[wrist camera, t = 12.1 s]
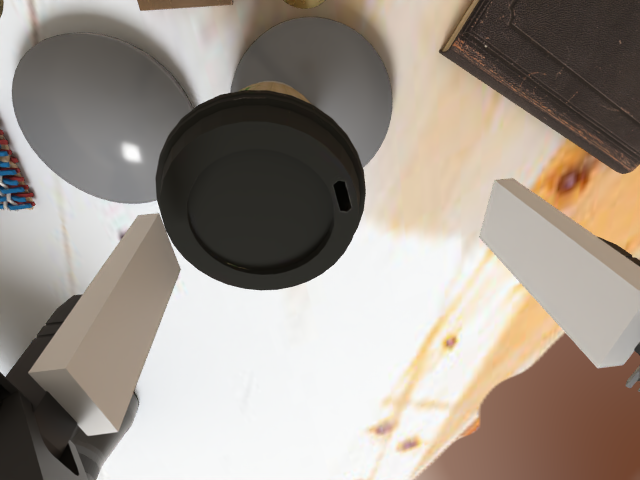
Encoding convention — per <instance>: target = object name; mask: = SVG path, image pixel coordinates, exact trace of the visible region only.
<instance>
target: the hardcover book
mask: <svg viewBox="0 0 640 480" xmlns="http://www.w3.org/2000/svg"><path fill="white" fill-rule="evenodd" d="M439 53H441V54H442V55H444V56H445V57H447V58H448V59H450V60H451V61H453V62H454V63H456V64H457V65H459V66H460V67H462V68H463V69H464V70H466V71H467V72H469V73H470V74H472V75H473V76H475V77H476V78H478V79H479V80H481V81H482V82H484V83H485V84H487V85H488V86H490V87H491V88H493V89H494V90H496V91H497V92H499V93H500V94H502V95H503V96H505V97H506V98H508V99H509V100H511V101H512V102H514V103H515V104H517V105H518V106H520V107H521V108H523V109H524V110H525V111H527V112H528V113H530V114H531V115H533V116H534V117H536V118H537V119H539V120H540V121H542V122H543V123H545V124H546V125H548V126H549V127H551V128H552V129H554V130H555V131H557V132H558V133H560V134H561V135H563V136H564V137H566V138H567V139H569V140H570V141H572V142H573V143H575V144H576V145H578V146H579V147H581V148H582V149H584V150H585V151H586V152H588V153H589V154H591V155H592V156H594V157H595V158H597V159H598V160H600V161H601V162H603V163H604V164H606V165H607V166H609V167H610V168H612V169H613V170H615V171H616V172H619V173H622V174H626V173H629V172H631V171H633V170H634V169H635V168H636V167H637V166H638V165H640V0H473V2H472V4H471V5H470V7H469V8H468V10H467V12H466V13H465V15H464V16H463V18H462V20H461V21H460V23H459V25H458V26H457V28H456V29H455V31H454V33H453V34H452V36H451V38H450V39H449V41H448V42H447V44H446V46H445V47H444V49H443V51H442V50H440V51H439Z"/></svg>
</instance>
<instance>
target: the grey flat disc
mask: <svg viewBox="0 0 640 480" xmlns="http://www.w3.org/2000/svg"><path fill="white" fill-rule="evenodd" d="M12 100H13V107H14V111H15V115H16V118H17V121H18V124H19V126H20V128H21V130H22V132H23V134H24V136H25V138H26V140H27V141H28V143H29V144H30V146H31V147H32V149H33V150H34V151H35V153H36V154H37V155H38V156H39V158H40V159H41V160H42V161H43V162H44V163H45V164H46V165H47V166H48V167H49V168H50V169H51V170H52V171H54V172H55V173H56V174H57V175H58V176H60V177H61V178H62V179H64V180H65V181H66V182H68V183H69V184H71V185H73V186H74V187H76V188H78V189H80V190H82V191H84V192H86V193H88V194H90V195H93V196H95V197H98V198H101V199H105V200H108V201H113V202H118V203H128V204H138V203H147V202H152V201H156V200H157V196H156V180H155V177H156V172H157V166H158V160H159V156H160V153H161V151H162V148H163V146H164V144H165V142H166V139H167V137H168V135H169V134H170V132H171V131H172V130H173V129H174V127H175V126H176V125H177V124H178V122H179V121H180V120H181V118H183V117H184V116H185V115H187V114H188V113H189V112H190V111H192V110H193V107H192V105H191V103H190V101H189V99H188V97H187V95H186V94H185V92H184V90H183V89H182V87H181V86H180V85H179V83H178V82H177V81H176V79H175V78H174V77H173V76H172V75H171V74H170V73H169V72H168V71H167V70H166V68H165V67H163V66H162V65H161V64H160V63H159V62H158V61H156V60H155V59H154V58H153V57H151V56H150V55H148V54H147V53H146V52H144V51H143V50H141V49H139V48H137V47H135V46H134V45H132V44H130V43H127V42H125V41H123V40H120V39H118V38H114V37H111V36H107V35H103V34H96V33H71V34H64V35H57V36H54V37H51V38H48V39H45V40H43V41H41V42H40V43H38V44H36V45H35V46H33V47H32V48H31V49H30V50H29V51H28V52H27V53H26V54H25V55H24V57H23V58H22V59H21V60H20V62H19V64H18V66H17V68H16V71H15V75H14V78H13V85H12Z"/></svg>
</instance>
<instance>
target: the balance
mask: <svg viewBox="0 0 640 480" xmlns="http://www.w3.org/2000/svg"><path fill="white" fill-rule="evenodd" d="M137 1H138V4H139V8H140V11H146V10H161V9H176V8H191V7H206V6H221V5H233V3H232V0H137ZM283 1H285V2H286V3H287V4H289V5H291V6H293V7H296V8H301V9H308V8H313V7H316V6H318V5H320V4H321V3H323V2H324V1H325V0H283ZM3 4H4V1H3V0H0V17H1V15H2V11H3Z"/></svg>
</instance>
